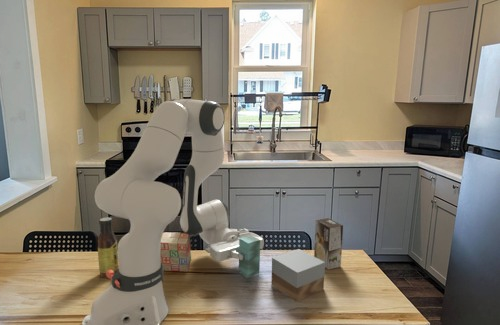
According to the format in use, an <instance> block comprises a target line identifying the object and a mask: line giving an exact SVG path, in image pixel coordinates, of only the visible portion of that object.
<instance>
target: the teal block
mask: <svg viewBox="0 0 500 325" xmlns="http://www.w3.org/2000/svg"><path fill="white" fill-rule="evenodd" d="M239 253H243V254H245V259H243V260H240V259H238V273H240V274H241V275H242V276H244V277H245V278H247V279H248V278H252V277H254V276H257V275H259V274H260V268H261V267H260V264H261V262H260V261H261V258H260V257H261V249H260V239H258V238H256V237H254V236H252V235H250V236H246V237H243V238H239Z"/></svg>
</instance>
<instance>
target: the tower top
mask: <svg viewBox="0 0 500 325" xmlns="http://www.w3.org/2000/svg"><path fill="white" fill-rule="evenodd" d="M325 270H326V268H325V262H324V261H322V260H320V259H318V258H316V257H314V255H312V254H310V253H308V252H306V251H304V250H302V249H300V248H298V249H294V250H291V251H289V252H288V251H287V252H286V253H282V254H278V255H275V256H273V257H271V273H272V272H273V273H274V274H276V275H277V276H279V277H280V278H282V279H284V280H285V281H287V282H288V283H290V284H291V285H293V286H294V287H296V288H298V287H301V286H303V285H306V284H308V283H311V282H313V281H315V280H318V279H320V278H323V277H324V278H325V274H326V273H325Z"/></svg>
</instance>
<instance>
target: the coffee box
mask: <svg viewBox="0 0 500 325" xmlns="http://www.w3.org/2000/svg"><path fill="white" fill-rule="evenodd" d="M314 226H315V229H314V230H315V231H314V250H313V252H314V254H313V256H314V257H316V258H318V259H320V260H322V261H324V262H325V270H326V269H327V270H331V269H336V268H341V267H342V253H343V252H342V251H343V235H344V234H343V233H344V225H343V224H341V223H339V222H337V221H334V220H333V219H331V218H329V217H328V218H320V219H318V220H315V225H314Z"/></svg>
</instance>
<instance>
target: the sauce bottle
mask: <svg viewBox="0 0 500 325" xmlns="http://www.w3.org/2000/svg"><path fill="white" fill-rule="evenodd" d="M98 223H99V226H100V227H99V229H100V231H99V232H100V233H99V235H98V238H97V240H96V241H97V242H96V243H97V256H98V266H99V267H98V271H99V275H100V277H102V278H108V277H107V276H106V273H107V271H108V270H113V271H114V273H116V272H117V270H118V268H119V262H118V239H117V237H116V235H115V233H114V230H113V217H109V216H107V217H102V218H100V219H99V220H98Z"/></svg>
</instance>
